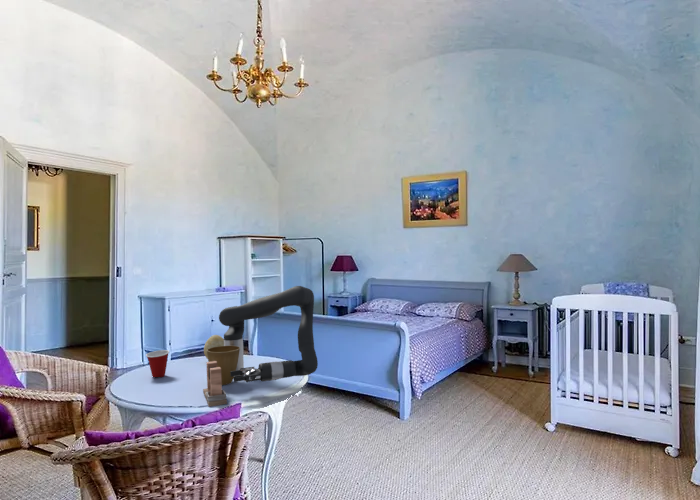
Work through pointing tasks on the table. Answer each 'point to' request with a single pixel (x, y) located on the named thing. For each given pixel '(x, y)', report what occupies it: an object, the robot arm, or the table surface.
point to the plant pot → (224, 360)
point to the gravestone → (210, 399)
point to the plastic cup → (158, 362)
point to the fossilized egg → (213, 343)
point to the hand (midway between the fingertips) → (232, 376)
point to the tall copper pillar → (215, 381)
